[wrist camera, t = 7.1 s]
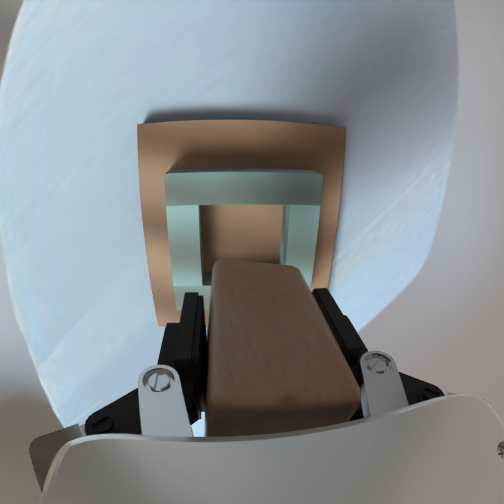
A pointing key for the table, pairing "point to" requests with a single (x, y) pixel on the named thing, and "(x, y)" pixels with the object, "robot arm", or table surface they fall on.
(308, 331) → the wooden block
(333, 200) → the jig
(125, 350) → the table surface
